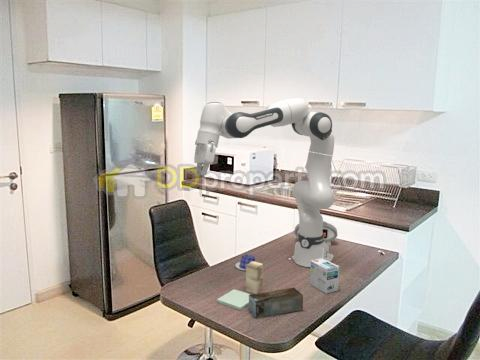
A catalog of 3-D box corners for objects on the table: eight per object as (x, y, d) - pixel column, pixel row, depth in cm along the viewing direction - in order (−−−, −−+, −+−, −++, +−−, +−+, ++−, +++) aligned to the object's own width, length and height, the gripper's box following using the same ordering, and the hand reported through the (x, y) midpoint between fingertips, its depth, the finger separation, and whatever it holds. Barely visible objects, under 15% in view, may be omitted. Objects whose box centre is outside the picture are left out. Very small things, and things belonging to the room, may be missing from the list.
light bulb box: (338, 290, 165) (340, 265, 163) (326, 294, 162) (327, 268, 160) (321, 281, 174) (322, 257, 172) (309, 284, 171) (310, 260, 169)
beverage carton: (247, 308, 150) (247, 292, 149) (294, 301, 156) (294, 285, 155) (255, 319, 142) (255, 301, 141) (304, 311, 149) (304, 294, 147)
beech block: (252, 286, 169) (252, 261, 167) (262, 289, 166) (263, 263, 164) (245, 290, 164) (246, 264, 163) (256, 293, 162) (256, 267, 160)
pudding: (265, 265, 191) (265, 255, 190) (251, 274, 181) (251, 263, 180) (244, 260, 198) (244, 250, 197) (230, 268, 188) (230, 257, 187)
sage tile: (234, 291, 163) (234, 289, 163) (256, 299, 157) (257, 296, 157) (217, 302, 154) (217, 299, 154) (240, 310, 148) (240, 307, 148)
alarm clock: (293, 243, 223) (294, 220, 220) (294, 239, 229) (295, 217, 226) (336, 246, 218) (338, 223, 216) (336, 242, 224) (337, 220, 222)
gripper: (221, 141, 154) (214, 177, 154) (208, 144, 174) (202, 175, 174) (205, 138, 153) (198, 173, 152) (194, 141, 172) (188, 172, 172)
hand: (200, 174), depth 163 cm, fingers open, 8 cm apart
